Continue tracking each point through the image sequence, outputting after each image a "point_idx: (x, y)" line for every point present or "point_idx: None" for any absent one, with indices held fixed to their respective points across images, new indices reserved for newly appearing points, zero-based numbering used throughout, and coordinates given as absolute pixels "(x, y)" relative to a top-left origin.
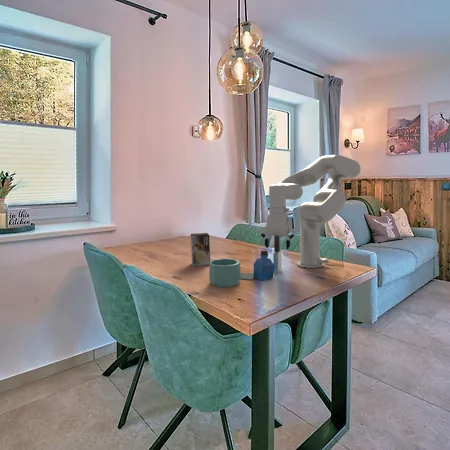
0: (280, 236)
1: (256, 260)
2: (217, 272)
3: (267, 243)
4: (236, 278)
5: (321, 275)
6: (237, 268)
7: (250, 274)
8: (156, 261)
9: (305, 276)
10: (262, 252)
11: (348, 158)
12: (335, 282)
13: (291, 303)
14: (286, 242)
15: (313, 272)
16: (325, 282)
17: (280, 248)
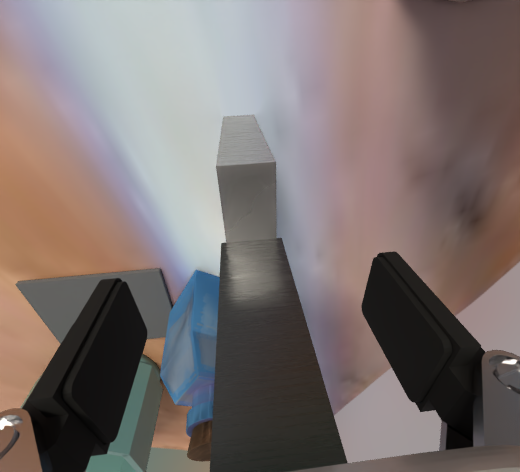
0: (338, 438)
1: (171, 393)
2: (97, 459)
3: (131, 381)
4: (158, 408)
5: (491, 173)
6: (147, 445)
7: (134, 288)
8: None
9: (401, 217)
10: (209, 458)
11: None
12: (510, 255)
13: (341, 408)
14: (402, 379)
15: (465, 122)
16: (469, 267)
17: (285, 257)
